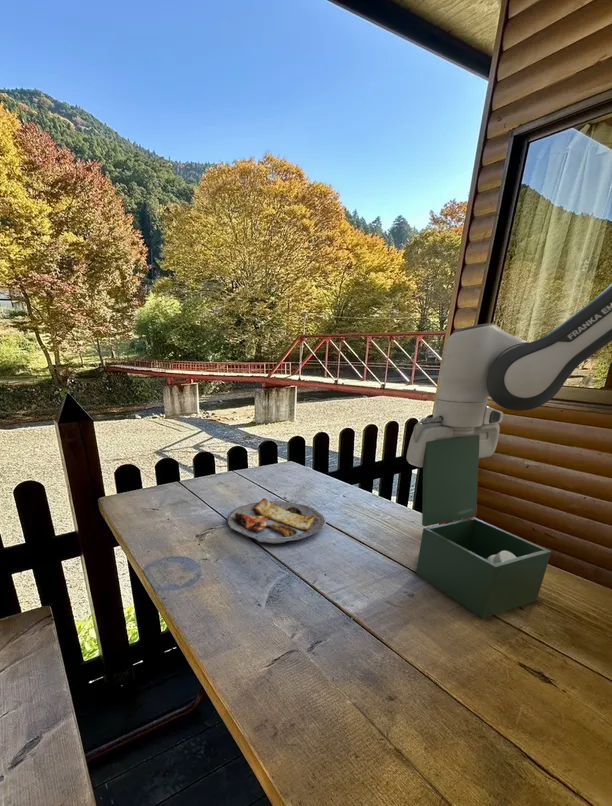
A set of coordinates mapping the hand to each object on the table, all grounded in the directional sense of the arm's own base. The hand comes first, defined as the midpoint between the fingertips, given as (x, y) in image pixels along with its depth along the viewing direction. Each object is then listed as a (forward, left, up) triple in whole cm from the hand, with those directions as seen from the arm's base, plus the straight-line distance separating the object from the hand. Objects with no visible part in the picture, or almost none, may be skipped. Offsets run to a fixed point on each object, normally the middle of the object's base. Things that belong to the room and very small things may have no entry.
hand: (446, 481), depth 84 cm
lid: (+2, +3, +2) cm, 4 cm away
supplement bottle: (+2, +13, -16) cm, 20 cm away
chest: (+2, +12, -18) cm, 22 cm away
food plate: (+25, -28, -18) cm, 42 cm away
